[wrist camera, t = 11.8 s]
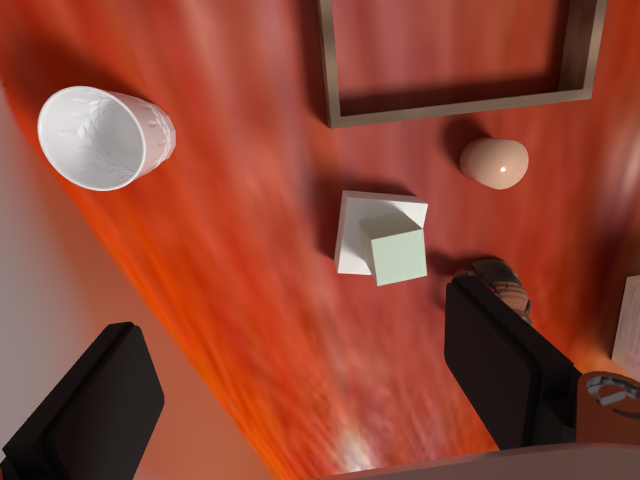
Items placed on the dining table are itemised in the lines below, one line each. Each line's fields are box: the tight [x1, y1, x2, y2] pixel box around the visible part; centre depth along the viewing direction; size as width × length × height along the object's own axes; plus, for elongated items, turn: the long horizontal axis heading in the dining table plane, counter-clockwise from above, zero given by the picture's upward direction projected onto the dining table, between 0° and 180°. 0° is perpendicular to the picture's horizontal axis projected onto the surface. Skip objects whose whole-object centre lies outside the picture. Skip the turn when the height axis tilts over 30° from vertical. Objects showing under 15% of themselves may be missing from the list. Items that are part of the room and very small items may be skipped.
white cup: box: [38, 86, 176, 191], centre depth 31 cm, size 8×8×10 cm
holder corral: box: [316, 0, 607, 129], centre depth 33 cm, size 17×27×4 cm, turn 96°
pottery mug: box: [456, 259, 532, 326], centre depth 44 cm, size 12×10×8 cm
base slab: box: [334, 190, 428, 275], centre depth 40 cm, size 9×9×4 cm
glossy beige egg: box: [459, 137, 528, 189], centre depth 38 cm, size 5×5×5 cm
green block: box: [359, 212, 427, 286], centre depth 36 cm, size 5×5×6 cm
